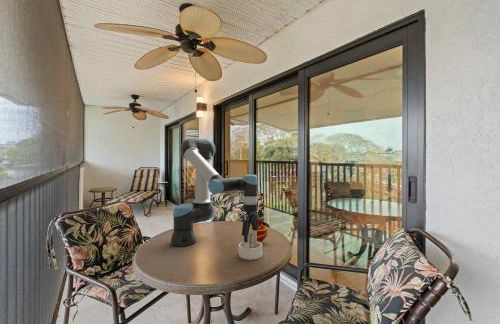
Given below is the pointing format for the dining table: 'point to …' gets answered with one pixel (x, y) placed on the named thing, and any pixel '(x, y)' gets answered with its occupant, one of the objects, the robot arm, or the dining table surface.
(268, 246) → the dining table surface
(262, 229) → the potion bottle
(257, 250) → the white round bowl
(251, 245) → the cream rectangular box
